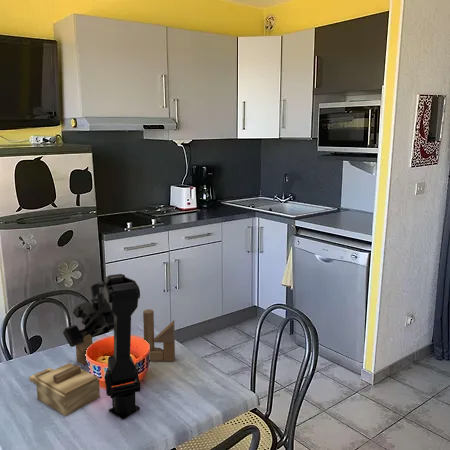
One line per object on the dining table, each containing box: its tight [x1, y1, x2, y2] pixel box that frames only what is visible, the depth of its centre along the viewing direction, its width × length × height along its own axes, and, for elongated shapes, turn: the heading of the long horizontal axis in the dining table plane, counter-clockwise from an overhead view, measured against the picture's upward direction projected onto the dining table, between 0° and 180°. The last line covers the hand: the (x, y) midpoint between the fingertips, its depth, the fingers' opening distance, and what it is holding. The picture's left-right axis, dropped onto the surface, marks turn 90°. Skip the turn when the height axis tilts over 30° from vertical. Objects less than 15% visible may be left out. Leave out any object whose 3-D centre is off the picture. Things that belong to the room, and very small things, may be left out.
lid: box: [37, 362, 99, 396], centre depth 138 cm, size 14×11×3 cm
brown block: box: [75, 335, 94, 366], centre depth 161 cm, size 4×4×11 cm
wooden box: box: [28, 367, 101, 417], centre depth 143 cm, size 26×12×6 cm, turn 53°
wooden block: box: [142, 308, 176, 363], centre depth 162 cm, size 4×11×18 cm, turn 89°
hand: (81, 340), depth 161 cm, fingers open, 7 cm apart
